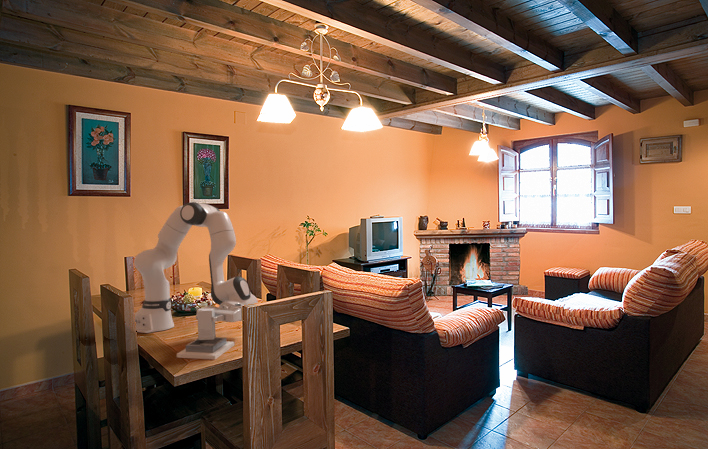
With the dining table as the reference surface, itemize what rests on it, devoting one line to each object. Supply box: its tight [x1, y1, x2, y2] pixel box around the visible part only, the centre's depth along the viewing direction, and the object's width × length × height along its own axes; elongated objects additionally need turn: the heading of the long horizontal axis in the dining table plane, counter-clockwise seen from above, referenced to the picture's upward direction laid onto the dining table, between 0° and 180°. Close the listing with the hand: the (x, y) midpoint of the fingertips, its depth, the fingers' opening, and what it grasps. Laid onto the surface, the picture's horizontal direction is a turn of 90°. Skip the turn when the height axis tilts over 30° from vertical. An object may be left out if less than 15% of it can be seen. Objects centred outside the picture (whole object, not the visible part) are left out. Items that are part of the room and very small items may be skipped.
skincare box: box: [196, 308, 217, 340], centre depth 173 cm, size 6×4×12 cm
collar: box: [185, 336, 227, 353], centre depth 173 cm, size 12×12×2 cm
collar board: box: [176, 340, 235, 360], centre depth 173 cm, size 16×17×2 cm
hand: (204, 318), depth 172 cm, fingers closed on skincare box, 7 cm apart
